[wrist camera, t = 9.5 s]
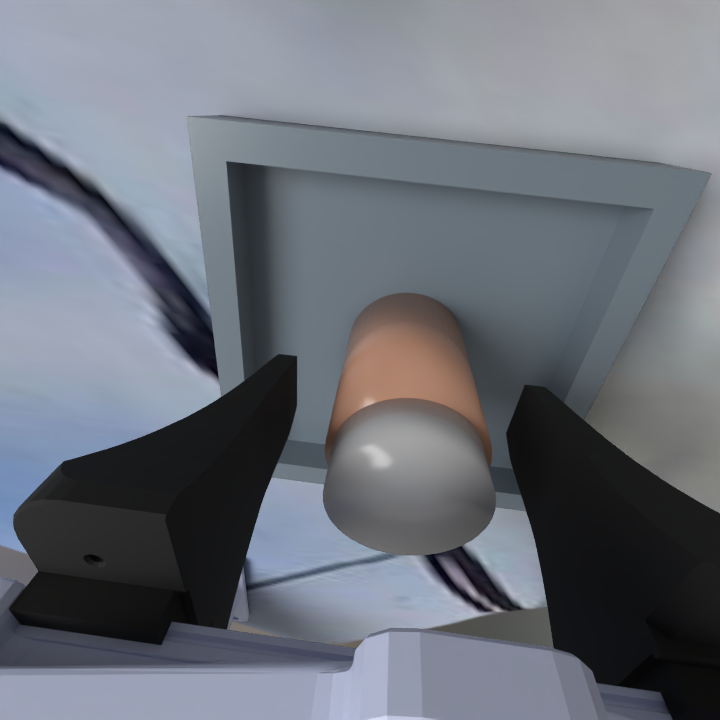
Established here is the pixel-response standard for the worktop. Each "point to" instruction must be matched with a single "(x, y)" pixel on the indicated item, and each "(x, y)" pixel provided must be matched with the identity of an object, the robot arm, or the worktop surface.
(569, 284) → the tray
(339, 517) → the shaker
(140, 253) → the worktop surface
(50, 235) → the worktop surface
